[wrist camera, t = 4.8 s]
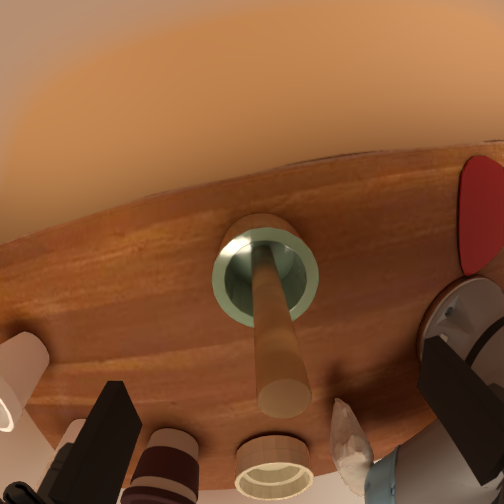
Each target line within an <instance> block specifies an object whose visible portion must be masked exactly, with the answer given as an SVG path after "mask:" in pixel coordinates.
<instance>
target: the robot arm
mask: <svg viewBox="0 0 504 504" xmlns="http://www.w3.org/2000/svg"><path fill="white" fill-rule="evenodd" d="M416 351H417V357H418V360H419V362H420V364H421V366H420V372H419V377H418V383H417V388H418V389H419V391H420V392H421V394H422V395H423V397H424V398H425V399H426V401H427V402H428V404H429V405H430V407H431V408H432V410H433V411H434V413H435V414H436V416H437V417H438V418H437V419H436V420H435V421H433V422H432V423H431V424H430V425H428V426H427V427H426V428H424V429H423V430H422V431H420V432H419V433H418V434H416V435H415V436H413V437H412V438H411V439H409V440H408V441H406V442H405V443H403V444H402V445H399V446H397V447H395V449H394V451H392V452H391V453H390V454H388V455H387V456H385V457H384V458H382V459H381V460H380V461H378V462H377V463H375V464H374V465H373V466H372V467H371V468H370V470H369V471H368V473H367V475H366V478H365V483H364V496H365V497H364V498H365V504H504V293H503V291H502V289H501V288H500V287H499V286H498V285H497V284H496V283H495V282H493V281H492V280H490V279H488V278H486V277H484V276H481V275H470V276H466V277H463V278H461V279H459V280H457V281H455V282H454V283H452V284H451V285H449V286H448V287H447V288H446V289H445V290H444V291H443V292H442V293H441V294H440V295H439V296H438V297H437V298H436V299H435V301H434V302H433V303H432V305H431V306H430V308H429V309H428V311H427V313H426V314H425V316H424V318H423V320H422V323H421V325H420V328H419V332H418V336H417V342H416ZM142 425H143V424H142V422H141V420H140V418H139V416H138V414H137V412H136V410H135V408H134V406H133V403H132V401H131V399H130V397H129V395H128V392H127V390H126V388H125V385H124V383H123V381H107V383H106V385H105V387H104V388H103V390H102V392H101V394H100V396H99V397H98V399H97V401H96V403H95V405H94V406H93V408H92V410H91V412H90V414H89V415H88V417H87V419H86V421H85V423H84V425H83V427H82V428H81V430H80V432H79V434H78V436H77V438H76V440H75V442H74V443H69V442H67V443H66V444H65V445H64V446H63V447H61V448H60V449H59V450H58V452H57V454H56V456H55V458H54V461H53V462H52V463H51V465H50V468H49V469H48V471H47V473H46V475H45V477H44V479H43V481H42V483H41V485H40V486H39V488H38V490H37V492H35V491H34V490H33V489H32V488H31V487H30V486H29V485H27V484H26V483H24V482H21V481H18V482H13V483H12V484H10V485H8V486H7V487H6V489H5V491H4V493H3V500H4V501H5V502H4V501H2V499H1V498H0V504H116V503H117V499H118V496H119V493H120V490H121V487H122V484H123V481H124V478H125V475H126V472H127V469H128V466H129V463H130V460H131V457H132V454H133V451H134V448H135V445H136V442H137V439H138V436H139V433H140V430H141V427H142Z"/></svg>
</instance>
